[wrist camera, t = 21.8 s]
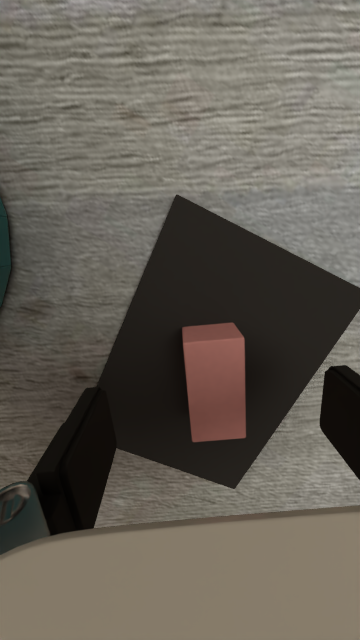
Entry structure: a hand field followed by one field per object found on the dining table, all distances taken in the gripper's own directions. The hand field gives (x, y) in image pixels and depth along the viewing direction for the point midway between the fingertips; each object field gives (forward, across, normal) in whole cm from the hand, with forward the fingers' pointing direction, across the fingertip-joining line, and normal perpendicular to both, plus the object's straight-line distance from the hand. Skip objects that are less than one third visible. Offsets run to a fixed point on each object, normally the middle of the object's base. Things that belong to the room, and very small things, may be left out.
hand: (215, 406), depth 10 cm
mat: (+5, 0, +1) cm, 5 cm away
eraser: (+5, 0, +1) cm, 5 cm away
